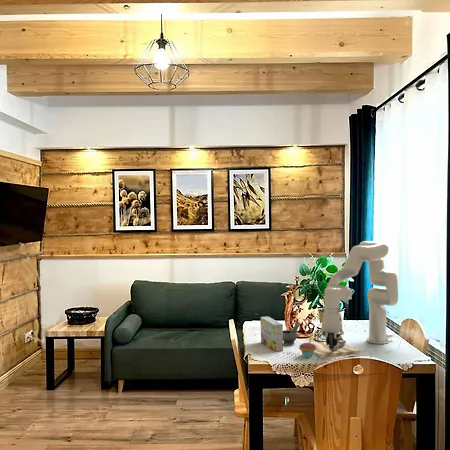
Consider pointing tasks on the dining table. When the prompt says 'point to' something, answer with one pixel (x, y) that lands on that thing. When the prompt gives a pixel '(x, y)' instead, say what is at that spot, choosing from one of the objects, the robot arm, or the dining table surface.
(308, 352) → the cupcake
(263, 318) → the snack box
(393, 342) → the dining table surface
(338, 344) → the lever
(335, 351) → the board
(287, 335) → the mortar and pestle
